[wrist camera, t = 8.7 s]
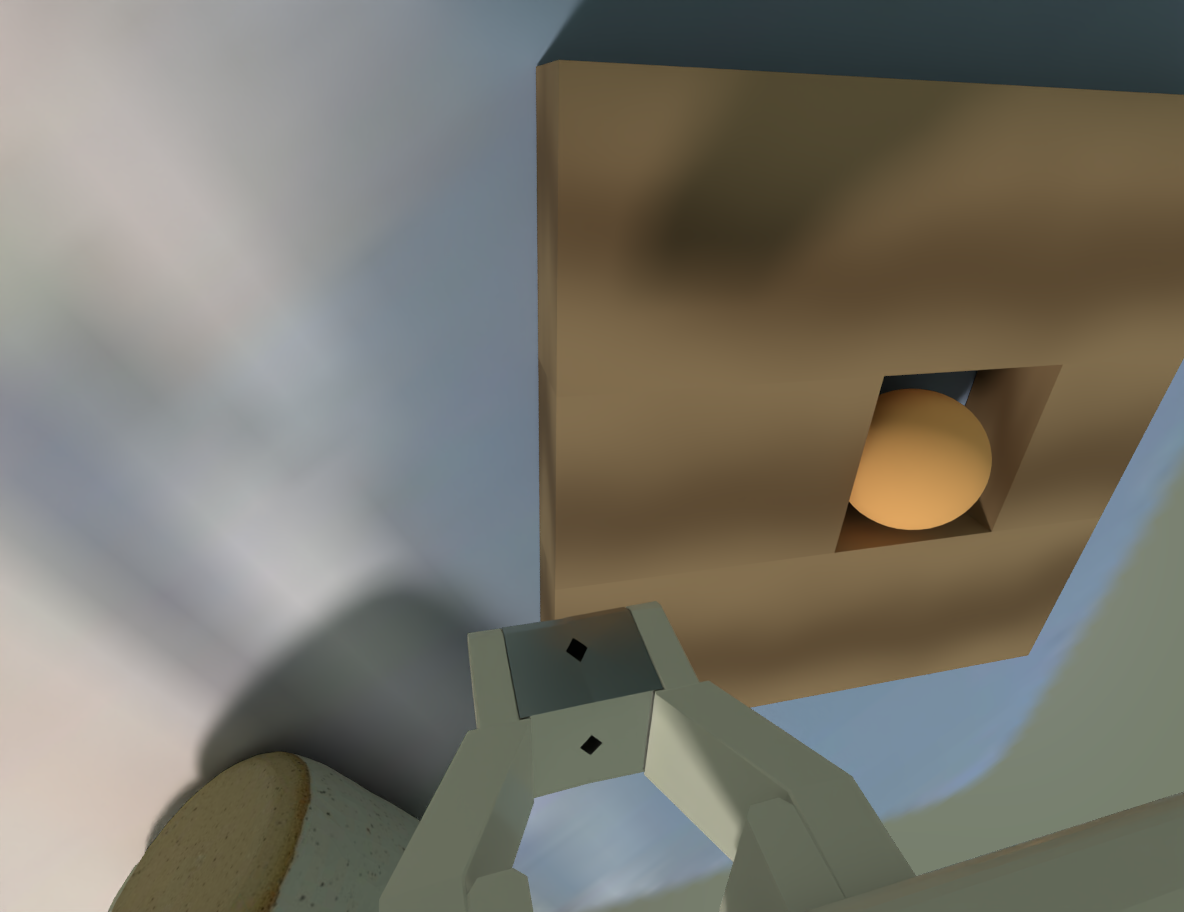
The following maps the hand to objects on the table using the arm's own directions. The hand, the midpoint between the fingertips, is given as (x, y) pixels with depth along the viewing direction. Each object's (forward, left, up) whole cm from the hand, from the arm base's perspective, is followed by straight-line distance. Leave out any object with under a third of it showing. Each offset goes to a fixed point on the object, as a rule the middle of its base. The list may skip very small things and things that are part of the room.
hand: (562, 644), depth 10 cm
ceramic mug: (+15, -8, -8) cm, 19 cm away
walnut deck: (+1, +10, -8) cm, 13 cm away
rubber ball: (+1, +11, -6) cm, 13 cm away
